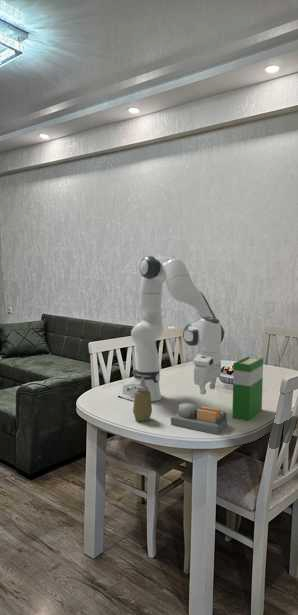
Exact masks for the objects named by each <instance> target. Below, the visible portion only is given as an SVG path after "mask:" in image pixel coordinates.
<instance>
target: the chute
mask: <svg viewBox="0 0 298 615" xmlns="http://www.w3.org/2000/svg"><path fill="white" fill-rule="evenodd" d="M200 408H201V409H198V408H197V409H196V410H197V419H198V420H203V421H208V422H213V423H216V422H217V418H218V417H219V416H220V414H221V409H218V408H213V407H207V406H200Z"/></svg>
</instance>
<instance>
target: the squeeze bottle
mask: <svg viewBox="0 0 298 615" xmlns="http://www.w3.org/2000/svg"><path fill="white" fill-rule="evenodd" d="M152 407H153V406H152V401H151V394H150V392H149V391H148V386H147V385H146V384H145V380H144V378H141V382H140V385H139V386H137V391H136V392H135V397H134V401H133V408H132V411H133V415H134V419H135V420H136V421H137V422H149V420H150V418H151V415H152V412H153V409H152Z"/></svg>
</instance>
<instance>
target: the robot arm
mask: <svg viewBox="0 0 298 615" xmlns="http://www.w3.org/2000/svg"><path fill="white" fill-rule="evenodd" d="M139 272H140V274H141V279H140V285H139V296H138V310H139V313H140V319H141V321H140V322H138V323H136V324H135V325H134V326H133V327H132V329H131V331H130V336H131V337H130V338H131V339H132V340H133V343H134V346H135V352H136V369H134V370H133V371H132V373H131V374H133V376H132V377H131V378H129V379H128V380H127V381H125V383H124V384H123V385H122V390H121V391H120V392H118V393H117V397H118V396H120V397H122V398H121V399H124V398H125V400H127V399H129V400H128V401H131V400H132V402H134V397H135V392H136V391H137V386H139V385H140V382H141V378H144V380H145V384H146V385H147V386H148V391H149V392H150V394H151V402H157V401H160V400H161V399H162V398H163V396H162V392H161V388H160V376H161V375H160V374H161V373H160V371H161V370H160V369H159V368H160V355H159V352H158V350H157V340H159V339H160V338H161V337H162V335H163V334H164V331H165V330H164V329H165V328H164V325H163V318H162V297H163V285H164V284H163V283H164V282H165V283H166V287H167V290H168V293H169V295H170V296H171V297H172V298H173V299H174V300H176V301H177V302H180V303H182V304H183V303H184V304H187V305H188V306H191V307H193V308H194V309H195V310H196V312H197V313H198V315H199V317H200V320H197V321H195V322H192V323H188V324H187V325H186V326H185V327H184V328H183V332H182V338H183V341H184V343H185V344H186V345H187V346H189V347H198V350H197V352H198V353H197V354H196V356H195V357H194V359H193V362H192V363H193V365H194V367H193V382H194V384H195V385H196V386H198V387H199V391H200V395H202V396H204V395H206V394H207V389H206V385H207V384H208V383H210V384H209V389H210V390H214V389H215V388H216V384H217V379H218V378H219V377H221V375H222V362H221V343H222V342H223V340H224V337H225V329H224V328H223V326H222V325H221V322H220V320H219V319H218V318H216V316H215V313H214V312H213V310H212V307H211V306H210V305H209V302H208V300H207V298H206V297H205V295H204V294H203V292H201V290H199V289H198V288H197V287H196V285H195V284H194V281H193V280H192V278H191V275H190V272H189V270H188V269H187V267H186V265H185V263H184V262H183V260H182V259H180V258H176V257H170V256H164V255H163V256H153V255H149V256H146V257H143V258H142V260H141V261H140V264H139ZM120 397H119V398H120Z"/></svg>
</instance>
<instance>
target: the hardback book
mask: <svg viewBox="0 0 298 615" xmlns="http://www.w3.org/2000/svg"><path fill="white" fill-rule="evenodd" d="M263 371H264V357H263V358H259V359H257V358H250V356H246V357H243V358H241V359H239V360H237V361H235V362H234V363H233V376H232V377H233V378H232V379H233V380H232V415H231V417H232V418H233V419H236V420H241V421H246V422H250V421H251V420H253V418H255V416H257V415H258V414H259V413H260V412H261V411H262V410H263V409H262V407H263V380H264V379H263V378H264V375H263V374H264V372H263ZM256 414H257V415H256Z"/></svg>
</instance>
